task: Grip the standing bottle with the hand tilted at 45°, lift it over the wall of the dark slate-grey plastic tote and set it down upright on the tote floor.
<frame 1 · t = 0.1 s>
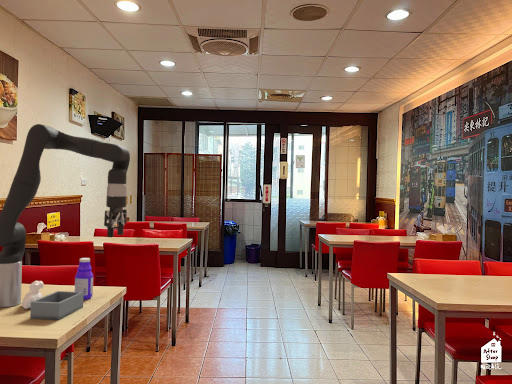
hand: (115, 236, 150), 29 cm above the table, tool pointing down, fingers open, 8 cm apart
bust: (32, 307, 151), on the table
tote: (58, 312, 144), on the table
bottle: (83, 298, 164), on the table
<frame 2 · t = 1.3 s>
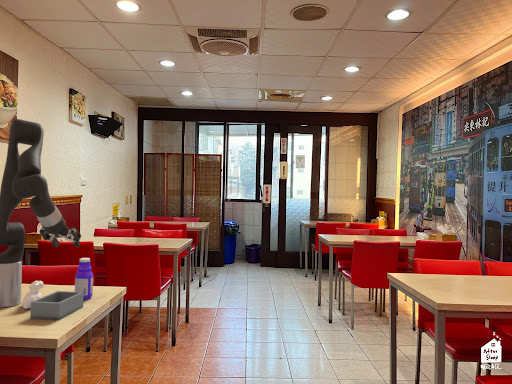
hand: (67, 245, 151), 25 cm above the table, tool tilted 45°, fingers open, 8 cm apart
nothing on the table moved.
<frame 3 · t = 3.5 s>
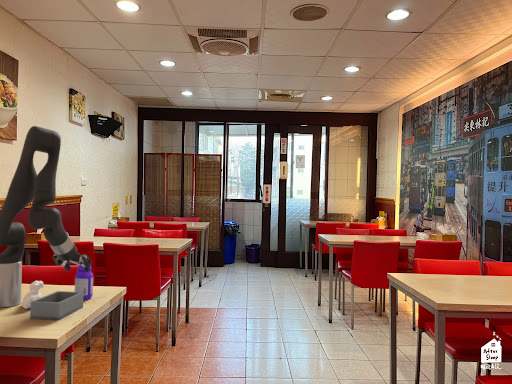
hand: (78, 269, 159), 13 cm above the table, tool tilted 45°, fingers open, 8 cm apart
nothing on the table moved.
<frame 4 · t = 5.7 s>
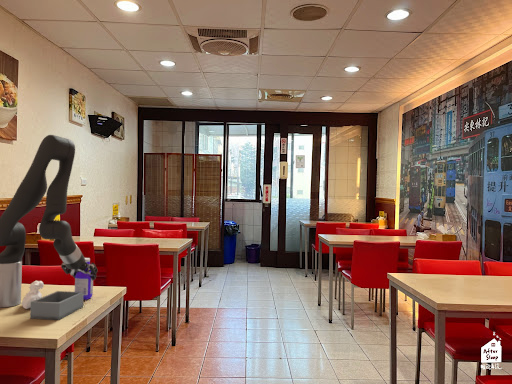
hand: (86, 278, 165), 9 cm above the table, tool tilted 45°, fingers closed on bottle, 7 cm apart
bottle: (83, 298, 164), on the table, touching gripper
everything else where it was.
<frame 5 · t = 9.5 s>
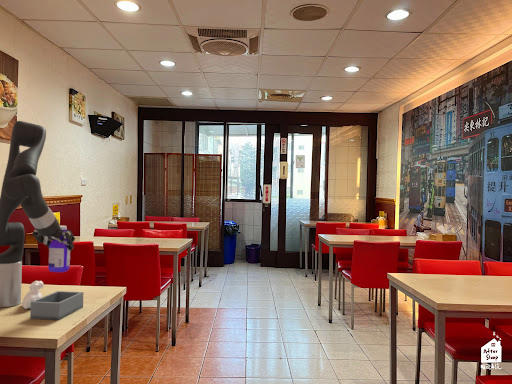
hand: (62, 248, 146), 24 cm above the table, tool tilted 45°, fingers closed on bottle, 7 cm apart
bottle: (59, 271, 144), point 16 cm above the table, touching gripper
everything else where it was.
when the fingers open (10 cm above the table, at t = 13.1 s): bottle stays where it is, resting on tote.
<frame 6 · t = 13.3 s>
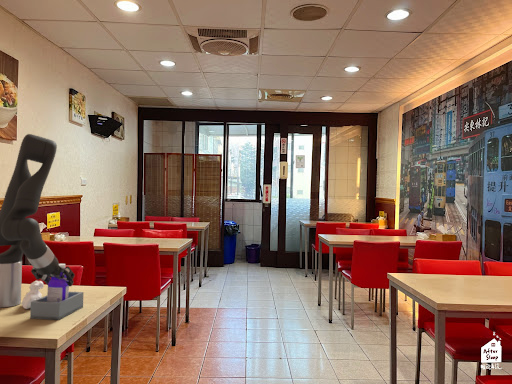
hand: (60, 283, 145), 11 cm above the table, tool tilted 45°, fingers open, 8 cm apart
bottle: (57, 310, 144), point 1 cm above the table, touching tote
everything else where it was.
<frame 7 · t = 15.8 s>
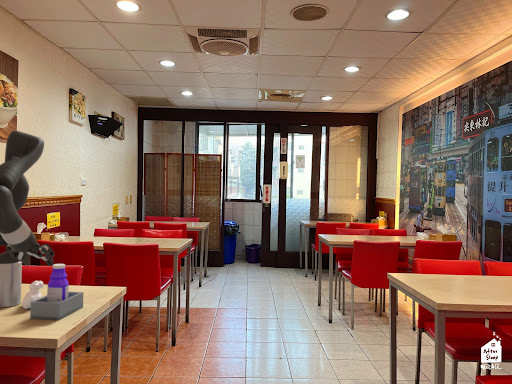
hand: (39, 263, 132), 21 cm above the table, tool tilted 45°, fingers open, 8 cm apart
nothing on the table moved.
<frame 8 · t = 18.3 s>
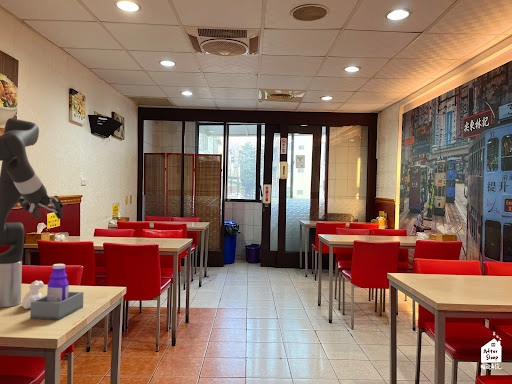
hand: (49, 217, 141), 37 cm above the table, tool tilted 45°, fingers open, 8 cm apart
nothing on the table moved.
at the end: bottle inside the target area on the tote (0.2 cm from its centre), point 0.8 cm above the tote's base; bottle tilted 0°; the gripper is holding nothing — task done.
